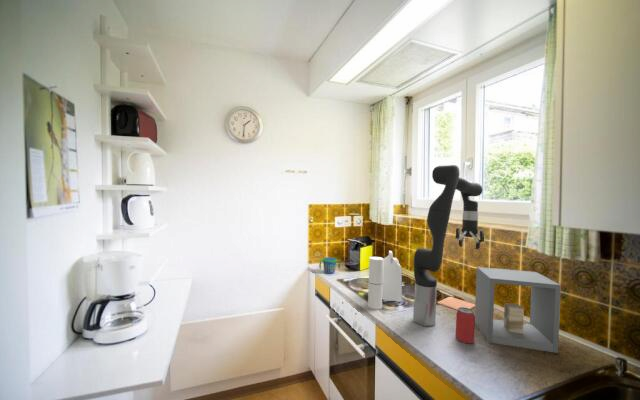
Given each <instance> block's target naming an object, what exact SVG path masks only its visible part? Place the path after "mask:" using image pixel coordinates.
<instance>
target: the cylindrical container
mask: <svg viewBox="0 0 640 400" xmlns="http://www.w3.org/2000/svg"><path fill="white" fill-rule="evenodd" d="M368 262H369V265H368V289H367V290H368V296H367V307H368V308H369V309H373V310H380V309H382V308H383V301H382V295H383V262H384V258H383V257H381V256H369V261H368Z"/></svg>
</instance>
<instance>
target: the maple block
mask: <svg viewBox="0 0 640 400" xmlns="http://www.w3.org/2000/svg"><path fill="white" fill-rule="evenodd" d="M503 307H504V308H503V309H504V310H503V311H504V312H503V321H504V327H505V328H506V329H507V330H508V331H509V332H515V333H522V334H523V323H524V316H525V309H524V308H523V307H522V305H520V304H519V303H510V302H504V306H503Z"/></svg>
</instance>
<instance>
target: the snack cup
mask: <svg viewBox="0 0 640 400" xmlns="http://www.w3.org/2000/svg"><path fill="white" fill-rule="evenodd" d="M337 262H338V264H337ZM322 263H323V272H324V273H325V274H328V275H330V274H331V275H332V274H335V272H336V267H337V265H338V267H337V268H338V269H340V268H341V263H340V259H337V258H336V257H327V256H326V257H323V258H322V259H321V260H320V261H319V266H318V267H319V269H320V270H322V267H321V266H322Z"/></svg>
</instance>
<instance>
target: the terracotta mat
mask: <svg viewBox="0 0 640 400" xmlns="http://www.w3.org/2000/svg"><path fill="white" fill-rule="evenodd" d="M436 304H438V305H441V306H442V307H443V306H444V307H446V308H447V307H448V308H449V309H453V310H455V311H458V308H460V307H464V308H468V309H471V310H473V308H474V309H475V303H471V302H468V301H465V300H462V299H459V298H455V297H452V296H448V297H446V298H443V299H442V300H439V301H436Z"/></svg>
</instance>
